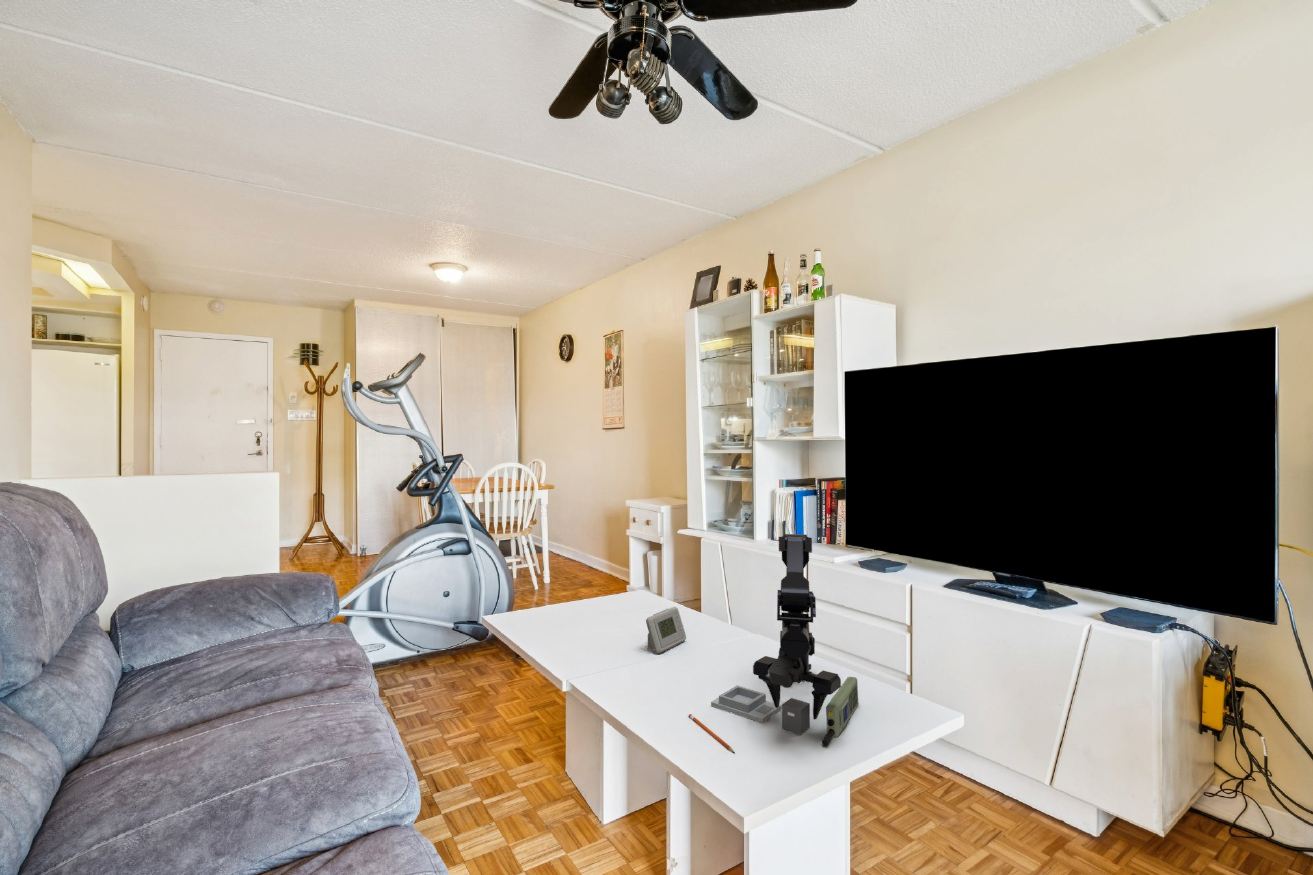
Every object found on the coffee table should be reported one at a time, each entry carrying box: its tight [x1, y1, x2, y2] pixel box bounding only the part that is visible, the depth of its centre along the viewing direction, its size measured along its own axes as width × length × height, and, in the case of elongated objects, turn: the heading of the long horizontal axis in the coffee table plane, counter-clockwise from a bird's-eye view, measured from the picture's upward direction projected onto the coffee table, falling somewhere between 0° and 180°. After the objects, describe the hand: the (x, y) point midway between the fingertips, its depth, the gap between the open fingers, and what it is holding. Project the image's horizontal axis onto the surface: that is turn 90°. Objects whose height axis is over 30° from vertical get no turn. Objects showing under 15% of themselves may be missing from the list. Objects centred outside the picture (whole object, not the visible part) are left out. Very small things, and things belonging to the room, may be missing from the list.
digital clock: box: [645, 606, 687, 654], centre depth 189 cm, size 16×9×11 cm, turn 134°
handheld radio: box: [821, 676, 859, 747], centre depth 136 cm, size 7×3×25 cm
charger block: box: [781, 697, 811, 736], centre depth 134 cm, size 5×4×6 cm
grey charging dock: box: [710, 684, 782, 724], centre depth 145 cm, size 9×14×3 cm, turn 50°
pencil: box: [687, 714, 736, 754], centre depth 132 cm, size 1×19×1 cm, turn 26°
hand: (795, 712), depth 134 cm, fingers open, 9 cm apart
